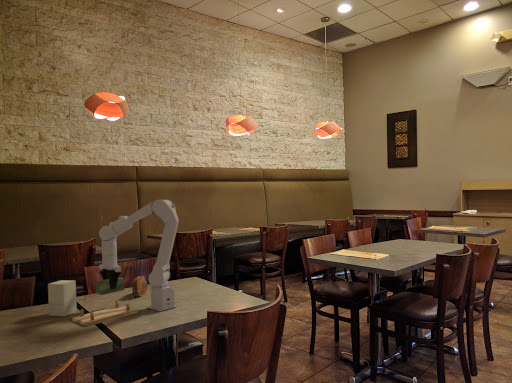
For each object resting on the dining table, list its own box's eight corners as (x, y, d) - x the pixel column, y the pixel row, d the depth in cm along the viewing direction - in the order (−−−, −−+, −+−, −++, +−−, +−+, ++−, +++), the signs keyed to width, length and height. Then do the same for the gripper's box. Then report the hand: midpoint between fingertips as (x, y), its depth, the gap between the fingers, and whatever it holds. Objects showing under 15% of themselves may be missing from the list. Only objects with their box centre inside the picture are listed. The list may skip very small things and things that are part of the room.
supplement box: (77, 311, 158) (76, 280, 159) (63, 316, 151) (62, 284, 152) (62, 310, 160) (61, 279, 161) (48, 315, 153) (47, 283, 154)
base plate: (137, 312, 153) (137, 303, 153) (86, 326, 138) (86, 315, 138) (121, 308, 161) (121, 299, 161) (72, 320, 146) (71, 310, 146)
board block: (124, 290, 164) (123, 278, 164) (101, 295, 156) (100, 282, 156) (119, 289, 166) (119, 277, 167) (96, 293, 159) (96, 281, 159)
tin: (138, 298, 177) (137, 279, 177) (131, 298, 177) (130, 280, 177) (148, 290, 192) (147, 273, 192) (141, 291, 192) (141, 273, 192)
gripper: (92, 255, 164) (92, 287, 163) (109, 257, 154) (110, 292, 154) (108, 252, 169) (108, 284, 168) (125, 255, 159) (126, 288, 159)
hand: (110, 287), depth 161 cm, fingers closed on board block, 4 cm apart
